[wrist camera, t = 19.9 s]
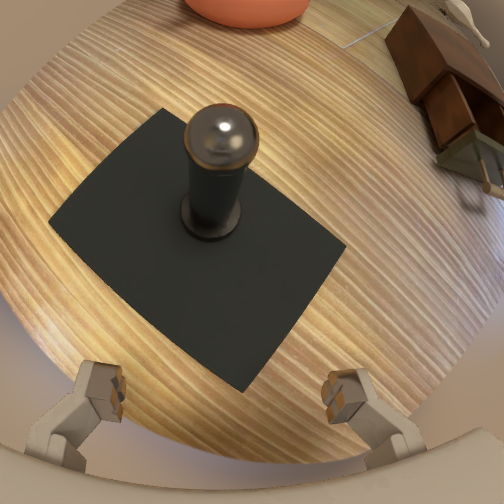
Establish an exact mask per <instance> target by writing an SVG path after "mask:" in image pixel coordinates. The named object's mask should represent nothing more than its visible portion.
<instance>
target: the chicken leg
mask: <svg viewBox="0 0 504 504" xmlns="http://www.w3.org/2000/svg"><path fill="white" fill-rule="evenodd" d="M443 5H444V8H445V12H446V14H447V15H448V16H449V18H450V19H451V20H452V21H453V22H456V23H457V24H460V25H462V26H464V27H466V28H468V29H470V30H471V32H472V33H473V34H474V35H475V37H476V38H477V39H478V40H479V42H480V45H481V46H482V47H483V48H489V42H488V41H487V40H486V39H484V38H483V36H482V35H481V34H480V32H479V31H478V30H477V29H476V28H475V26H474V23H473V20H472V16H471V13H470V9H469V8H468V7H467V6H466V5H465V3H464V2H463V1H461V0H447V1H445V2H444V3H443Z"/></svg>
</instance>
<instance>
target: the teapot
mask: <svg viewBox="0 0 504 504" xmlns="http://www.w3.org/2000/svg"><path fill="white" fill-rule="evenodd" d="M184 1H185V2H186V3H187V4H188V5H189V6H190V7H191V8H192V9H193V10H194V11H196V12H197V13H198V14H200V15H201V16H203V17H205V18H207V19H209V20H211V21H213V22H216V23H219V24H222V25H225V26H230V27H235V28H246V29H256V28H268V27H274V26H278V25H281V24H284V23H286V22H288V21H290V20H292V19H294V18H296V17H298V16H300V15H301V14H302V13H303V12H304V11H305V10H306V9H307V7H308V5H309V2H310V0H184Z"/></svg>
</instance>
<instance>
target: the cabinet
mask: <svg viewBox="0 0 504 504" xmlns="http://www.w3.org/2000/svg"><path fill="white" fill-rule="evenodd" d="M385 42H386V44H387V46H388V49H389V51H390V53H391V55H392V57H393V59H394V62H395V64H396V66H397V69H398V71H399V73H400V76H401V78H402V81H403V83H404V86H405V88H406V91H407V94H408V96H409V99H410V102H411V103H412V104H414V105H417V106H419V107H422V108H424V109H426V108H425V105H424V102H423V100H422V97H423V96H424V95H425V94H426V93H427V92H428V91H429V90H430V89H431V88H432V87H433V86H434V85H435V84H436V83H437V82H438V81H439V80H440V79H441V78H442V77H443V76H444V75H445V74H446V73H447V72H448V71H450V72H452V73H454V74H455V75H457V76H459V77H460V78H462V79H464V80H465V81H467V82H468V83H470V84H471V85H473V86H475V87H476V88H478V89H479V90H481V91H482V92H484V93H485V94H486V95H488V96H489V97H491V98H492V99H494V100H495V101H496V102H498V103H499V104H500V105H501V107H502V109H503V111H504V93H503V91H502V89H501V88H500V86H499V84H498V82H497V80H496V79H495V77H494V75H493V74H492V72H491V70H490V69H489V67H488V65H487V64H486V62H485V61H484V59H483V58H482V56H481V55H480V53H479V52H478V50H477V49H476V47H475V46H474V44H472V43H471V42H470V41H468V40H467V39H465V38H464V37H462V36H461V35H459V34H458V33H456V32H455V31H453V30H452V29H450V28H449V27H447V26H445V25H444V24H442V23H441V22H439V21H437V20H436V19H434V18H432V17H430V16H429V15H427V14H425V13H423V12H421V11H420V10H418V9H416V8H414V7H412V6H410V5H408V6H407V8H406V9H405V11H404V12H403V14H402V15H401V16H400V18H399V19H398V21H397V22H396V24H395V25H394V27H393V28H392V30H391V31H390V33H389V34H388V35H387V37H386V38H385Z"/></svg>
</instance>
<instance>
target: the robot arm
mask: <svg viewBox="0 0 504 504" xmlns="http://www.w3.org/2000/svg"><path fill="white" fill-rule="evenodd" d="M328 378H329V379H328V380H327V381H325V382H324V384H323V386H322V390H321V396H322V401H323V403H324V404H325V405H326V406H327V409H326V411H325V412H326V415H327V418H328V422H329V424H337V423H345V422H347V424H348V425H349V426H350V427H351V428H352V429H353V430H354V431H355V432H356V433H357V434H358V435H359V436H360V437H361V438H362V439H363V440H364V441H365V442H366V443H367V444H368V445H369V446H370V448H371V449H372V450H373V451H372V452H371V453H370V454H368V455H367V456H366V457H365V459H364V460H365V463H366V467H367V471H363V472H359V473H355V474H351V475H347V476H342V477H338V478H333V479H328V480H323V481H317V482H311V483H305V484H298V485H290V486H282V487H272V488H260V489H243V490H197V489H179V488H167V487H157V486H149V485H141V484H134V483H128V482H123V481H117V480H112V479H107V478H102V477H98V476H94V475H90V474H85V469H86V459H85V458H84V457H83V456H82V455H81V454H80V453H79V452H78V451H77V450H76V449H77V448H78V447H79V446H80V445H81V444H82V442H83V441H84V440H85V439H86V438H87V437H88V435H89V434H90V433H91V432H92V431H93V430H94V429H95V427H96V426H97V425H98V424H99V423H100V422H101V420H106V421H112V422H120V423H121V420H122V413H123V407H122V404H121V402H122V401H123V400H124V399H125V395H126V381H125V377H124V376H122V368H121V366H119V365H113V364H106V363H100V362H96V361H89V360H83V362H82V363H81V366H80V369H79V372H78V375H77V378H76V382H75V385H74V388H73V392H72V394H67V395H66V396H65V397H64V398H63V399H61V400H60V401H59V402H58V403H57V404H56V405H54V406H53V407H52V408H51V409H50V410H49V411H47V412H46V413H45V414H44V415H43V416H42V417H41V418H39V419H38V420H37V421H36V422H35V423H34V424H32V426H31V429H30V433H29V437H28V441H27V445H26V449H25V452H24V453H21V452H19V451H16V450H14V449H12V448H9V447H7V446H5V445H3V444H1V443H0V504H504V445H503V443H502V442H501V440H500V439H499V438H498V437H496V436H495V435H494V434H492V433H491V432H489V431H488V430H486V429H484V428H482V427H478V428H475V429H473V430H471V431H469V432H467V433H465V434H463V435H461V436H459V437H457V438H455V439H453V440H451V441H448V442H446V443H444V444H441V445H439V446H437V447H434V448H432V449H430V450H427V448H426V445H425V443H424V441H423V438H422V435H421V433H420V431H419V428H418V426H416V425H415V424H414V423H412V422H411V421H410V420H409V419H407V418H406V417H405V416H403V415H402V414H401V413H400V412H398V411H397V410H396V409H394V408H393V407H392V406H391V405H389V404H388V403H387V402H386V401H384V400H383V399H382V398H381V399H379V398H378V395H377V393H376V391H375V388H374V386H373V384H372V381H371V379H370V376H369V374H368V372H367V370H366V369H365V368H359V369H348V370H339V371H332V372H330V373H329V375H328Z"/></svg>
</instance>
